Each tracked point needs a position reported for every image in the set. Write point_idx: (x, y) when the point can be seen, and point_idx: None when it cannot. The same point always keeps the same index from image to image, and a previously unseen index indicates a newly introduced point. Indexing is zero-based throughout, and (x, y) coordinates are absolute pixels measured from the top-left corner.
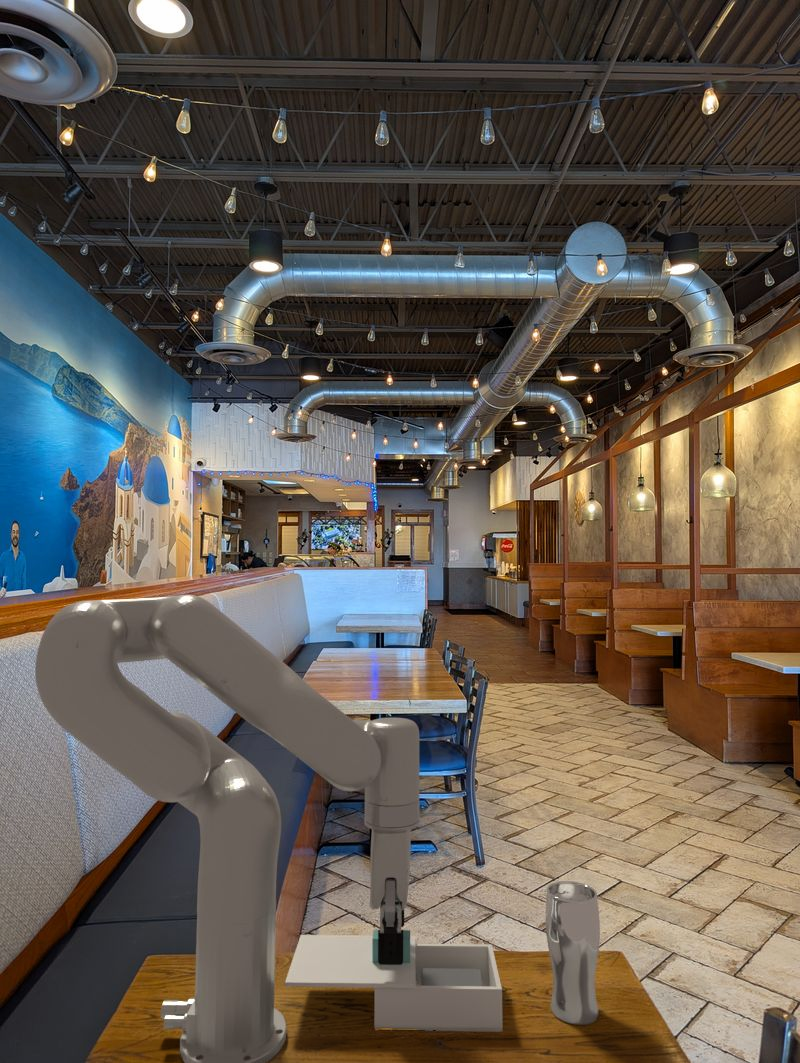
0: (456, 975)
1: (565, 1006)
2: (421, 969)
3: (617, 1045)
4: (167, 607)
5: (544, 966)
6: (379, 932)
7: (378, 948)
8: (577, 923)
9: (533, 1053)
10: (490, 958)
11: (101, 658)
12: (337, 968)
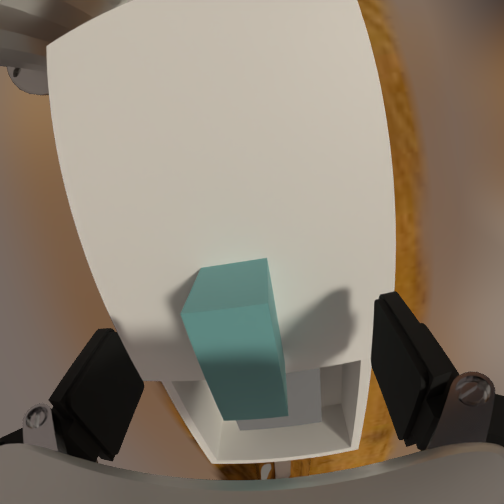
0: (294, 399)
1: (259, 470)
2: None
3: (230, 474)
4: None
5: (380, 435)
6: (52, 401)
7: (77, 358)
8: None
9: (189, 433)
10: (308, 454)
11: None
12: (132, 155)
